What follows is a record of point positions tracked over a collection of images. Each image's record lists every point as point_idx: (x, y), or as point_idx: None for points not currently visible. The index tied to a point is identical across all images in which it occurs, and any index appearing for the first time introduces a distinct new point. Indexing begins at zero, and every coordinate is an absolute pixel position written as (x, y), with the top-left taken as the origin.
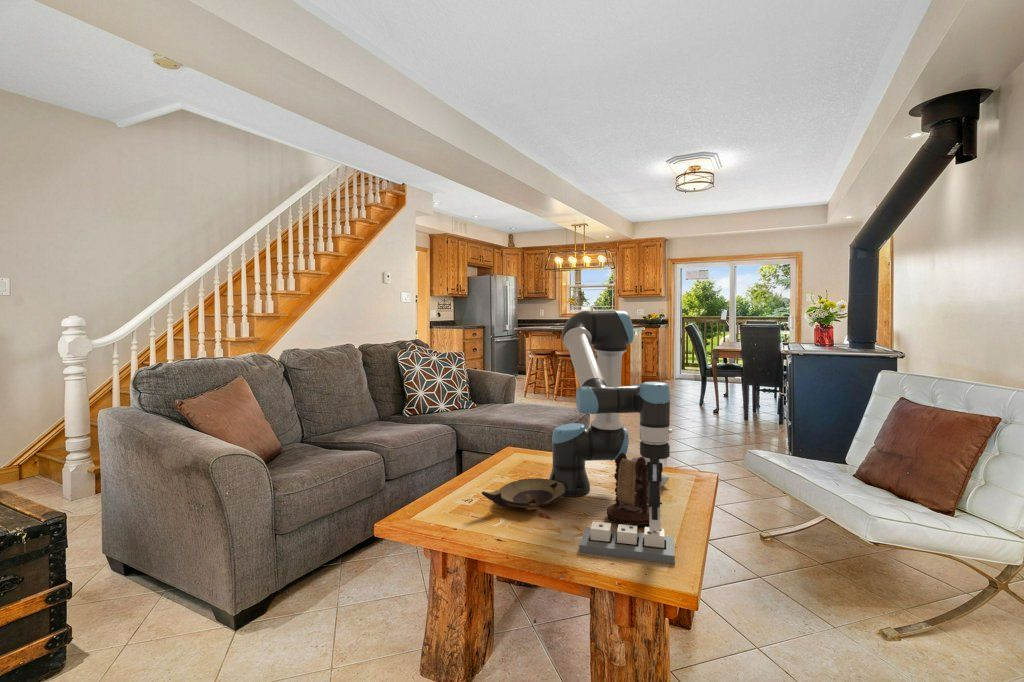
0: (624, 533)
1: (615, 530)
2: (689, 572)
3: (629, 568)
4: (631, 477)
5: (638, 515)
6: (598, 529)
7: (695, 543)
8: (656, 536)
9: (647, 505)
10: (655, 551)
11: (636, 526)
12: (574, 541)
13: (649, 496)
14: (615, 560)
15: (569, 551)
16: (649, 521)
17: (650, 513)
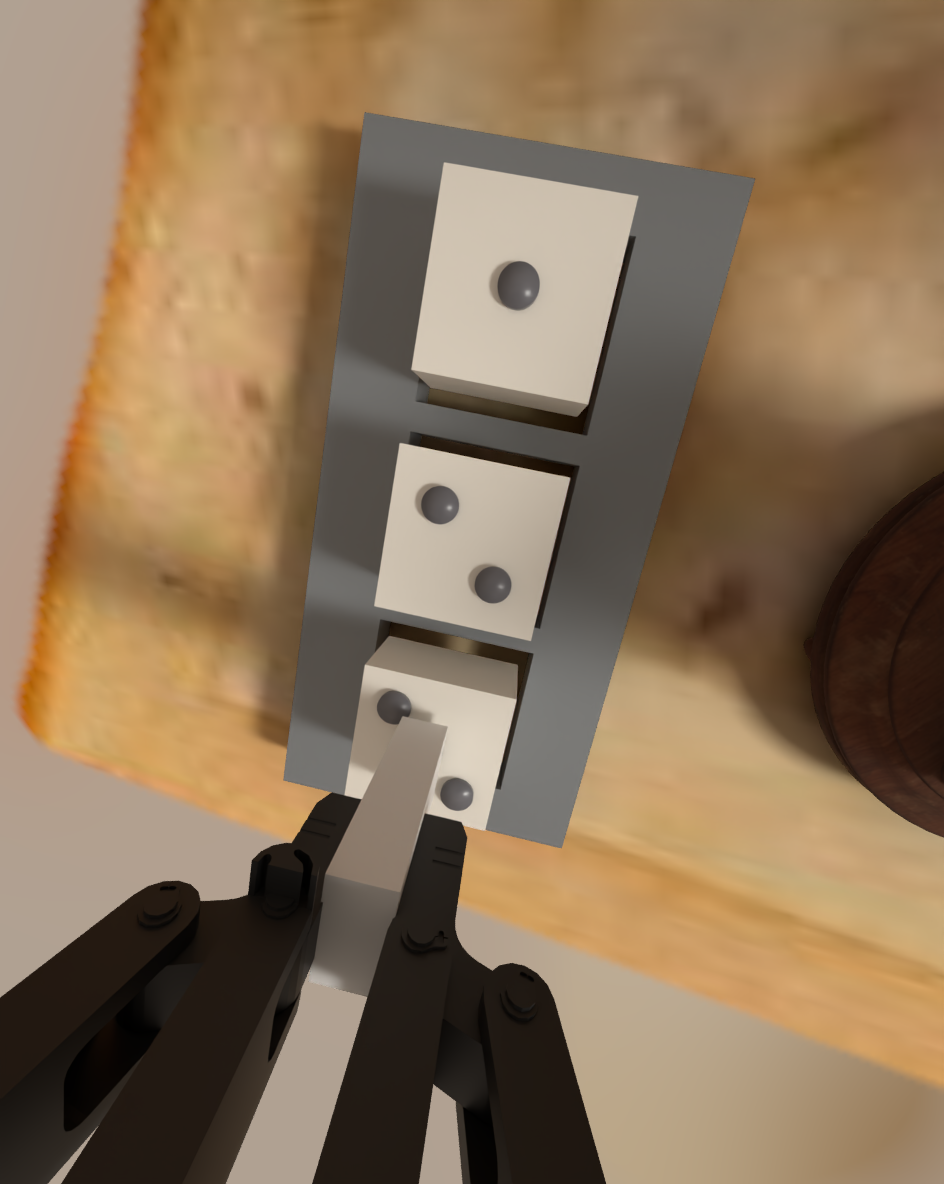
0: (391, 507)
1: (662, 464)
2: (226, 795)
3: (211, 498)
4: None
5: (896, 702)
6: (429, 254)
7: (561, 925)
8: (355, 743)
9: (252, 862)
10: (325, 687)
11: (519, 632)
12: (575, 104)
13: (505, 993)
14: (297, 424)
15: (391, 62)
16: (383, 759)
17: (354, 820)
